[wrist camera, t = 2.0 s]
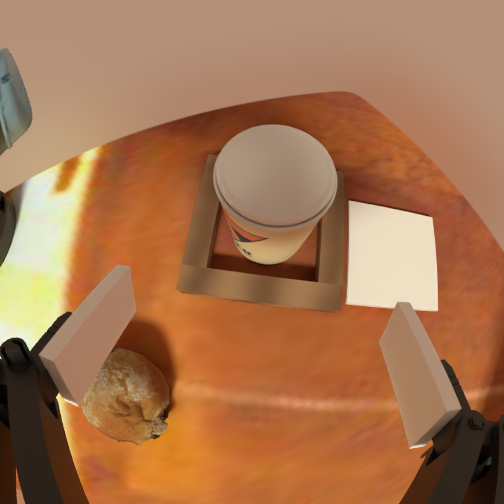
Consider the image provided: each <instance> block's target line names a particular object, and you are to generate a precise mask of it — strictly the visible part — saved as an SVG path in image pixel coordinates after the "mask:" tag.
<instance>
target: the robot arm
mask: <svg viewBox="0 0 504 504" xmlns="http://www.w3.org/2000/svg"><path fill="white" fill-rule="evenodd" d="M31 121H32V110H31V105H30V101H29V98H28V95H27V92H26V89H25V86H24V83H23V80H22V78H21V75H20V73H19V70H18V68H17V65H16V63H15V61H14V58H13V56H12V54H11V53H10V52H9V50H8V49H7V48H3V49H1V50H0V155H1V154H2V153H3V152H4V151H5V150H7V149H8V148H9V149H10V148H11V147H12V144H13V143H14V142H15V141H16V140H17V139H18V138H19V137H20V136H21V135H23V134H24V133H25V132H26V131H27V129H28V128H29V126H30V125H31ZM14 226H15V208H14V204H13V202H12V200H11V199H10V198H9V197H8V196H7V195H5V194H4V193H3V192H1V191H0V265H1V264H2V262H3V260H4V258H5V256H6V254H7V251H8V249H9V246H10V243H11V240H12V236H13V232H14ZM135 313H136V304H135V298H134V291H133V284H132V276H131V267H130V266H125V265H119V264H117V265H116V266H115V267H114V268H113V269H112V270H111V271H110V272H109V273H108V274H107V276H106V277H105V278H104V279H103V280H102V281H101V282H100V283H99V284H98V285H97V286H96V287H95V289H94V290H93V291H92V292H91V293H90V294H89V295H88V296H87V297H86V299H85V300H84V301H83V302H82V303H81V304H80V305H79V306H78V308H77V309H76V310H75V311H74V312H73V313H71V312H66V313H65V314H63V315H61V316H60V317H58V318H57V320H56V321H55V322H54V323H53V324H52V326H51V327H50V328H49V329H48V330H47V332H45V334H44V335H43V336H42V337H41V338H40V340H39V341H38V342H37V343H36V344H35V346H34V347H33V348H32V349H31V351H29V349H28V347H27V345H26V343H25V341H24V340H23V339H21V338H11V339H8V340H6V341H5V342H4V343H3V344H2V345H1V346H0V356H1V358H2V359H0V504H17V497H16V469H17V473H18V478H19V482H20V486H21V490H22V494H23V497H24V501H25V504H89V502H88V500H87V497H86V495H85V493H84V490H83V487H82V485H81V482H80V479H79V477H78V474H77V471H76V468H75V465H74V462H73V459H72V456H71V452H70V449H69V446H68V442H67V438H66V435H65V431H64V427H63V423H62V418H61V414H60V409H59V405H58V401H57V399H56V396H57V395H58V393H60V394H61V396H62V398H63V399H64V400H65V401H67V402H69V403H71V404H74V405H76V406H78V407H79V405H80V403H81V401H82V400H83V398H84V396H85V394H86V393H87V391H88V389H89V387H90V386H91V384H92V382H93V380H94V379H95V377H96V375H97V374H98V372H99V370H100V369H101V367H102V365H103V364H104V362H105V360H106V359H107V357H108V355H109V354H110V352H111V350H112V349H113V347H114V346H115V344H116V342H117V341H118V339H119V338H120V336H121V334H122V333H123V331H124V330H125V328H126V326H127V325H128V323H129V322H130V320H131V319H132V317H133V316H134V314H135ZM379 344H380V347H381V350H382V353H383V356H384V359H385V362H386V366H387V369H388V372H389V375H390V378H391V382H392V385H393V388H394V392H395V395H396V399H397V402H398V406H399V409H400V413H401V417H402V421H403V424H404V428H405V432H406V436H407V441H408V445H409V449H411V448H416V447H422V446H425V445H426V444H427V443H428V442H429V441H430V440H431V439H432V441H433V444H434V445H433V446H431V447H430V448H429V449H428V450H427V451H426V452H425V453H423V454H422V456H421V457H420V458H423V457H424V456H425V455H426V457H425V459H424V461H423V463H422V465H421V467H420V469H419V471H418V473H417V475H416V476H415V478H414V480H413V482H412V484H411V485H410V487H409V489H408V490H407V492H406V494H405V495H404V497H403V498H402V500H401V502H400V503H399V504H504V415H503V416H502V417H501V418H500V419H499V420H498V421H497V422H493V421H486V420H485V418H484V417H483V415H482V414H481V413H479V412H478V411H475V410H471V409H470V406H469V404H468V402H467V399H466V397H465V395H464V392H463V390H462V388H461V386H460V385H459V381H458V379H457V378H456V375H455V373H454V371H453V369H452V367H451V366H450V365H449V364H448V363H447V362H446V361H445V360H440V359H439V357H438V354H437V352H436V350H435V348H434V346H433V344H432V342H431V341H430V339H429V337H428V335H427V333H426V331H425V329H424V327H423V325H422V323H421V322H420V320H419V318H418V316H417V314H416V312H415V311H414V309H413V307H412V305H411V304H410V302H398V301H397V303H396V306H395V308H394V310H393V313H392V315H391V317H390V320H389V322H388V324H387V326H386V329H385V331H384V333H383V335H382V337H381V339H380V341H379ZM490 458H491V464H490V465H488V460H489V459H490Z"/></svg>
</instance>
